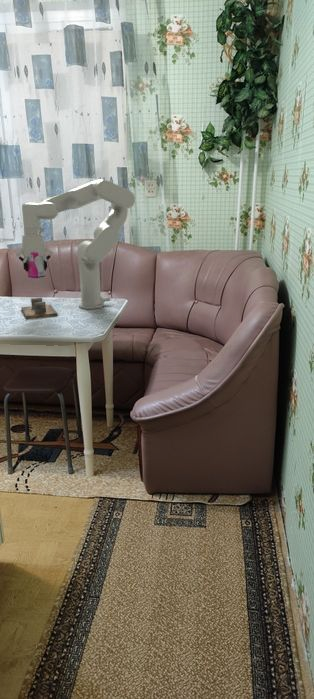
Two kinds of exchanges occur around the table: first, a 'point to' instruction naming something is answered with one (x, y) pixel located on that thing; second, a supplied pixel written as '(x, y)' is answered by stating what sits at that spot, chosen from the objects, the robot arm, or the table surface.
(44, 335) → the table surface
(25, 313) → the hinge board
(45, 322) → the table surface
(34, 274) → the supplement box
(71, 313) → the table surface
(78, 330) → the table surface
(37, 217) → the robot arm
